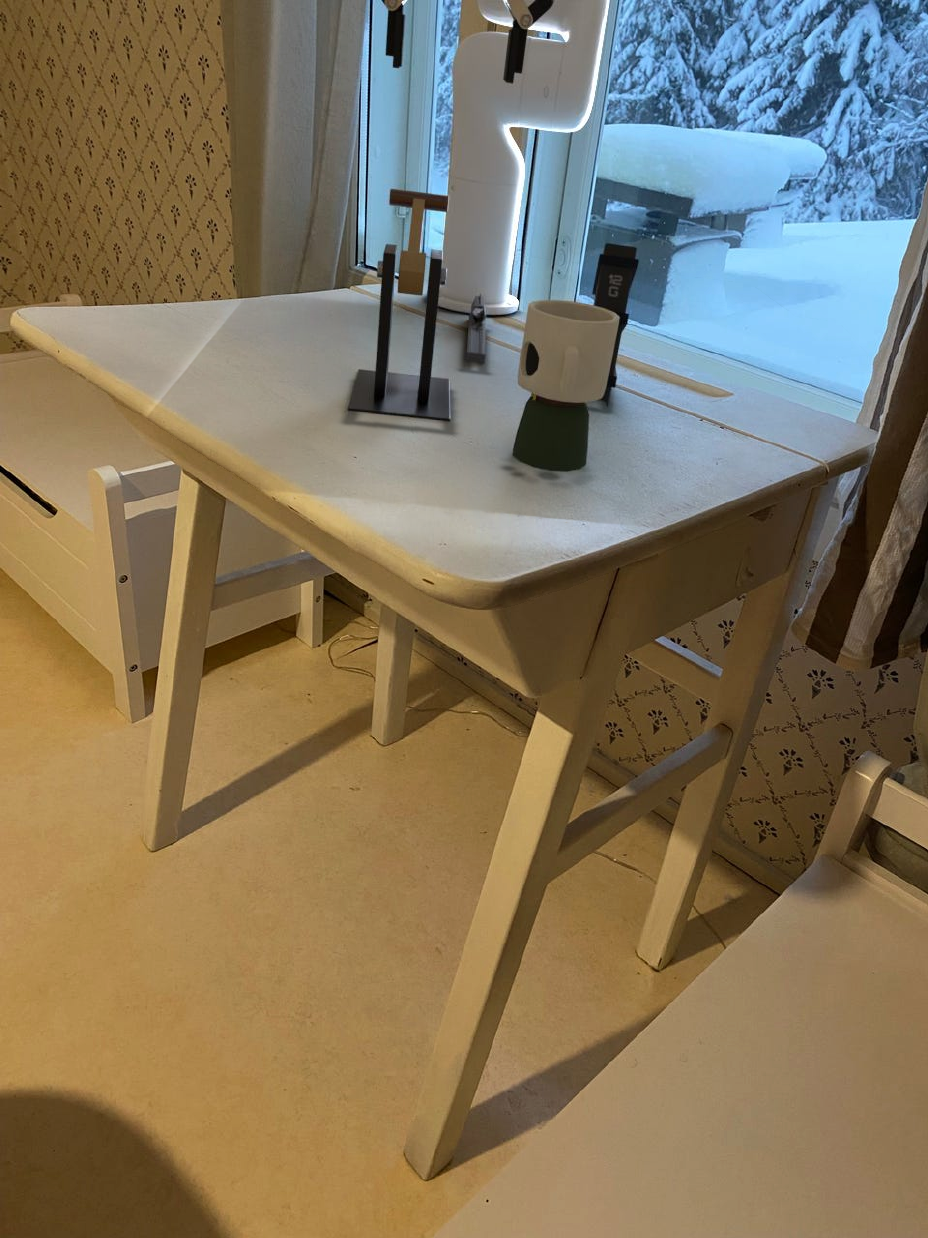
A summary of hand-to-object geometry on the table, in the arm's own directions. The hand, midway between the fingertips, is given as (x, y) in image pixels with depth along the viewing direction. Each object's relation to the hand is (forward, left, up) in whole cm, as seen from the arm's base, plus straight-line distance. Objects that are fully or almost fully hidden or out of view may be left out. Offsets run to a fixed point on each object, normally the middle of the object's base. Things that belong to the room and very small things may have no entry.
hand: (452, 74), depth 80 cm
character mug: (+20, +11, -27) cm, 35 cm away
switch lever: (+2, -2, -14) cm, 14 cm away
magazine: (-4, +18, -27) cm, 33 cm away
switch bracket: (+8, -2, -27) cm, 28 cm away
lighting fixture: (-15, +6, -27) cm, 32 cm away
